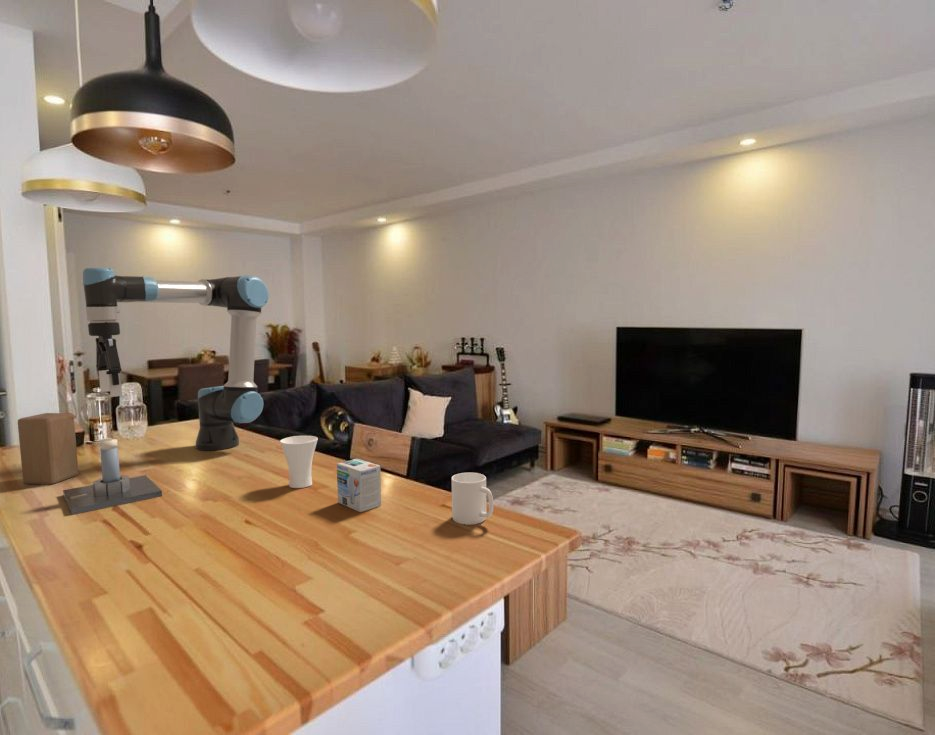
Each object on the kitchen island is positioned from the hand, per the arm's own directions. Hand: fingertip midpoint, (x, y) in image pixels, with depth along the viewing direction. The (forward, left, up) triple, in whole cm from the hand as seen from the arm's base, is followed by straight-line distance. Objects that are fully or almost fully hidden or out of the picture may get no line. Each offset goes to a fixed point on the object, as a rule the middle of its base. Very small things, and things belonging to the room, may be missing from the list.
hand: (111, 393), depth 154 cm
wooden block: (+14, -18, -27) cm, 35 cm away
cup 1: (-39, +41, -27) cm, 63 cm away
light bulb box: (-43, +67, -27) cm, 84 cm away
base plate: (+3, +13, -27) cm, 30 cm away
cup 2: (-57, +96, -27) cm, 115 cm away
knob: (+3, +13, -25) cm, 29 cm away
